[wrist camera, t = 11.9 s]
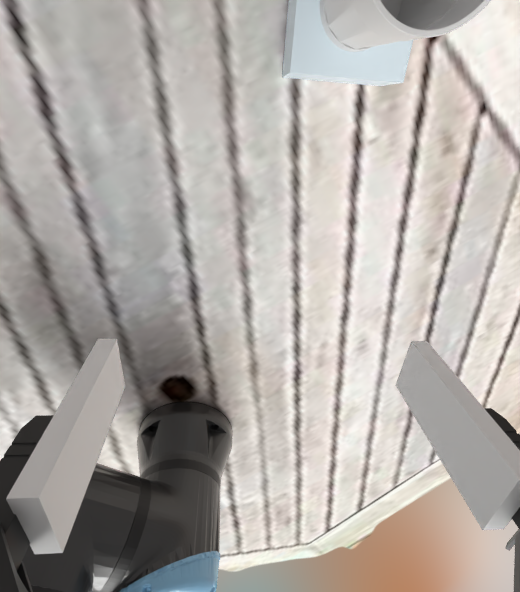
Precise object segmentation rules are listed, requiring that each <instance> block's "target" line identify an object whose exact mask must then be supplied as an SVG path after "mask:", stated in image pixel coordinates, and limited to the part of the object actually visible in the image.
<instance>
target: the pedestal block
mask: <svg viewBox="0 0 520 592" xmlns="http://www.w3.org/2000/svg"><path fill="white" fill-rule="evenodd" d="M412 43H413V40H410V41H399V42H394V43H389V44H384V45H379V46H374V47H371V48H369V49H367V50H364V51H359V52H350V51H345V50H343V49H341V48H339V47H338V46H336V45H335V44H334V43H333V42H332V41H331V40H330V39H329V37H328V36H327V34H326V32H325V30H324V27H323V25H322V21H321V16H320V0H289V1H288V13H287V25H286V37H285V49H284V61H283V73H282V77H283V78H294V79H306V80H317V81H328V82H340V83H351V84H362V85H373V86H385V85H391V84H398V83H403V82H404V77H405V73H406V69H407V64H408V60H409V56H410V52H411V47H412Z"/></svg>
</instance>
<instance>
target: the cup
mask: <svg viewBox="0 0 520 592" xmlns="http://www.w3.org/2000/svg"><path fill="white" fill-rule="evenodd" d="M490 1H491V0H320V16H321V21H322V25H323V27H324V30H325V32H326V34H327V36H328V37H329V39H330V40H331V41H332V42H333V43H334V44H335V45H336V46H338V47H339V48H341V49H343V50H345V51H350V52H359V51H364V50H367V49H369V48H371V47H374V46H379V45H384V44H389V43H394V42H399V41H410V40H416V39H422V38H429V37H435V36H440V35H444V34H447V33H449V32H452V31H454V30H456V29H458V28H460V27H461V26H463V25H464V24H466V23H467V22H469V21H470V20H471V19H473V18H474V17H475V16H476V15H478V14H479V13H480V12H481V11H482V10H483V9H484V8H485V7H486V6H487V5H488V3H489V2H490Z"/></svg>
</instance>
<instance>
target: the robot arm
mask: <svg viewBox="0 0 520 592" xmlns="http://www.w3.org/2000/svg"><path fill="white" fill-rule="evenodd" d="M396 387H397V388H398V390H399V392H400V393H401V395H402V397H403V398H404V400H405V402H406V403H407V405H408V407H409V408H410V410H411V412H412V413H413V415H414V417H415V418H416V420H417V422H418V423H419V425H420V427H421V428H422V430H423V432H424V433H425V435H426V437H427V438H428V440H429V442H430V443H431V445H432V447H433V448H434V450H435V452H436V453H437V455H438V457H439V458H440V460H441V462H442V463H443V465H444V467H445V468H446V470H447V472H448V473H449V475H450V477H451V478H452V480H453V482H454V483H455V485H456V486H457V488H458V490H459V492H460V493H461V495H462V497H463V498H464V500H465V502H466V503H467V505H468V507H469V508H470V510H471V512H472V513H473V515H474V517H475V518H476V520H477V522H478V523H479V525H480V527H481V529H482V530H497V529H504V528H505V527H506V526H507V525H508V523H509V522H510V521H511V519H513V520H514V522H515V523H516V525H517V526H518V528H519V529H518V531H517V532H516V533H515V534H514V535H513V537H512V538H511V539H510V540H509V542H508V543H507V545H506V549H507V550H510V549H511V548H512V547H513V546H514V545H515V568H514V592H520V435H519V434H517V433H516V430H515V429H514V428H513V427H512V426H511V425H510V423H509V422H508V421H507V420H506V419H505V418H504V417H502V416H501V415H499V414H498V413H497V412H495V411H494V410H493V409H491V408H490V409H484V408H483V407H482V405H481V404H480V403H479V402H478V401H477V399H476V398H475V397H474V396H473V395H472V394H471V392H470V391H469V390H468V389H467V388H466V386H465V385H464V384H463V383H462V382H461V381H460V379H459V378H458V377H457V376H456V375H455V374H454V372H453V371H452V370H451V369H450V368H449V366H448V365H447V364H446V363H445V362H444V361H443V359H442V358H441V357H440V356H439V355H438V354H437V352H436V351H435V350H434V349H433V348H432V346H431V345H430V344H429V343H428V342H427V341H411V343H410V346H409V349H408V352H407V355H406V358H405V360H404V363H403V366H402V369H401V372H400V374H399V377H398V380H397V383H396ZM124 389H125V383H124V377H123V371H122V365H121V359H120V354H119V348H118V342H117V339H98V340H97V341H96V343H95V345H94V346H93V348H92V350H91V352H90V353H89V355H88V357H87V359H86V360H85V362H84V364H83V366H82V367H81V369H80V371H79V373H78V374H77V376H76V378H75V380H74V381H73V383H72V385H71V386H70V388H69V390H68V392H67V393H66V395H65V397H64V399H63V400H62V402H61V404H60V406H59V407H58V409H57V411H56V413H55V414H54V415H53V416H35V417H34V418H33V419H32V420H31V421H30V422H28V423H27V424H26V425H25V426H24V427H23V428H21V430H20V432H19V433H18V435H17V436H16V438H15V439H14V441H13V442H12V446H10V447H9V448H8V450H7V451H6V453H5V454H4V458H2V459H1V461H0V592H216V588H217V578H218V567H219V560H220V553H219V533H220V482H221V477H222V474H223V471H224V468H225V465H226V463H227V460H228V457H229V454H230V451H231V448H232V428H231V425H230V423H229V421H228V419H227V418H226V417H225V416H224V415H223V414H222V413H221V412H219V411H218V410H216V409H214V408H212V407H210V406H207V405H204V404H200V403H193V402H178V403H172V404H168V405H165V406H162V407H160V408H158V409H156V410H154V411H153V412H151V413H150V414H149V415H148V416H147V417H146V418H145V419H144V421H143V423H142V425H141V428H140V431H139V435H138V440H137V448H138V459H139V469H140V477H138V476H135V475H132V474H129V473H126V472H123V471H119V470H116V469H113V468H110V467H107V466H104V465H101V464H97V461H98V458H99V455H100V453H101V450H102V447H103V445H104V442H105V439H106V437H107V434H108V431H109V429H110V426H111V424H112V421H113V418H114V416H115V413H116V410H117V408H118V405H119V402H120V400H121V397H122V394H123V392H124Z"/></svg>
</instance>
